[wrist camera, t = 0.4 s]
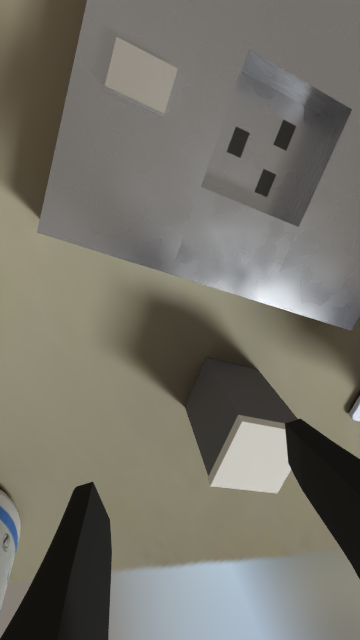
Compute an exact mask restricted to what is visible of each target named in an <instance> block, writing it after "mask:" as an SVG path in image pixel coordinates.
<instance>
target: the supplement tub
mask: <svg viewBox="0 0 360 640" xmlns="http://www.w3.org/2000/svg"><path fill="white" fill-rule="evenodd" d="M19 536H20V518H19V514H18V511H17V509H16V507H15V505H14V503H13V502H12V500H11V499H10V498H9V497H8V496H7V495H6V494H5V493H4V492H3V491H1V490H0V611H1V607H2V603H3V599H4V595H5V591H6V587H7V584H8V580H9V576H10V573H11V569H12V565H13V561H14V557H15V553H16V549H17V544H18V541H19Z"/></svg>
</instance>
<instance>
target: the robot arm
mask: <svg viewBox="0 0 360 640" xmlns="http://www.w3.org/2000/svg"><path fill="white" fill-rule="evenodd" d="M349 416H350V417H351V418H352V419H353V420H355V421H360V396H359V397H358V399H357V401H356V402H355V404H354V406H353V407H352V409H351V411H350V413H349ZM285 432H286V443H287V454H288V464H289V466H290V467H291V469H292V471H293V473H294V475H295V477H296V479H297V481H298V483H299V485H300V487H301V488H302V490H303V492H304V493H305V495H306V496H307V498H308V499H309V501H310V502H311V504H312V505H313V507H314V508H315V510H316V511H317V513H318V514H319V516H320V517H321V519H322V520H323V522H324V523H325V525H326V526H327V528H328V529H329V531H330V532H331V534H332V535H333V537H334V538H335V540H336V541H337V543H338V544H339V546H340V547H341V549H342V550H343V552H344V553H345V555H346V556H347V558H348V560H349V561H350V563H351V564H352V566H353V568H354V570H355V572H356V573H357V575H358V577H359V579H360V459H359V458H357V457H356V456H354V455H353V454H351V453H349V452H348V451H346V450H345V449H343V448H342V447H340V446H339V445H337V444H336V443H334V442H333V441H331V440H330V439H328V438H327V437H326V436H324V435H323V434H321V433H320V432H318V431H317V430H316V429H314V428H313V427H311V426H310V425H309V424H307V423H306V422H304V421H303V420H301V419H298V420H294V421H291V422H288V423H285ZM111 558H112V548H111V531H110V519H109V517H108V515H107V512H106V510H105V508H104V506H103V503H102V501H101V499H100V496H99V494H98V492H97V490H96V487H95V485H94V483H93V482H91V483H87V484H84V485H81V486H77V487H76V488H75V489H74V491H73V493H72V496H71V498H70V501H69V503H68V506H67V508H66V511H65V513H64V515H63V518H62V520H61V522H60V525H59V527H58V529H57V532H56V534H55V536H54V538H53V540H52V542H51V545H50V547H49V549H48V551H47V553H46V556H45V558H44V560H43V562H42V564H41V566H40V568H39V570H38V572H37V574H36V576H35V577H34V579H33V581H32V583H31V585H30V587H29V589H28V591H27V593H26V595H25V597H24V598H23V601H22V602H21V604H20V606H19V608H18V610H17V611H16V613H15V615H14V616H13V618H12V620H11V621H10V623H9V625H8V627H7V628H6V630H5V632H4V633H3V635H2V637H1V638H0V640H108V628H109V627H108V626H109V606H110V584H111Z"/></svg>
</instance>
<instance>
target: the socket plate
mask: <svg viewBox="0 0 360 640" xmlns="http://www.w3.org/2000/svg"><path fill="white" fill-rule="evenodd" d="M37 233H41V234H44V235H47V236H50V237H53V238H57V239H60V240H63V241H66V242H69V243H73V244H76V245H79V246H82V247H85V248H89V249H92V250H95V251H98V252H101V253H105V254H108V255H111V256H114V257H117V258H121V259H124V260H127V261H130V262H133V263H136V264H140V265H143V266H146V267H149V268H152V269H156V270H159V271H162V272H165V273H168V274H172V275H175V276H178V277H181V278H184V279H188V280H191V281H194V282H197V283H200V284H204V285H207V286H210V287H213V288H216V289H220V290H223V291H226V292H229V293H232V294H235V295H239V296H242V297H245V298H248V299H251V300H255V301H258V302H261V303H264V304H267V305H271V306H274V307H277V308H280V309H283V310H287V311H290V312H293V313H296V314H299V315H303V316H306V317H309V318H312V319H315V320H319V321H322V322H325V323H328V324H331V325H335V326H338V327H341V328H344V329H347V330H350V331H352V329H353V328H354V326H355V324H356V322H357V320H358V319H359V317H360V0H87V3H86V7H85V12H84V16H83V21H82V26H81V30H80V35H79V40H78V44H77V49H76V54H75V58H74V63H73V68H72V72H71V77H70V82H69V86H68V91H67V96H66V100H65V105H64V109H63V114H62V119H61V123H60V128H59V133H58V137H57V142H56V147H55V151H54V156H53V161H52V165H51V170H50V175H49V179H48V184H47V188H46V193H45V198H44V202H43V207H42V212H41V216H40V221H39V226H38V230H37Z"/></svg>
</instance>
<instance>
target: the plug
mask: <svg viewBox="0 0 360 640" xmlns="http://www.w3.org/2000/svg"><path fill="white" fill-rule="evenodd" d="M185 409H186V411H187V414H188V417H189V420H190V423H191V426H192V429H193V432H194V435H195V438H196V441H197V444H198V447H199V450H200V453H201V456H202V459H203V462H204V464H205V467H206V470H207V473H208V480H209V483H210V486H214V487H224V488H233V489H242V490H251V491H260V492H270V493H278V491H279V490H280V488H281V486H282V484H283V483H284V481H285V479H286V477H287V476H288V474H289V472H290V470H291V467H290V466H289V464H288V454H287V443H286V432H285V423H288V422H291V421H294V420H298V419H297V418H296V416H295V415H294V414H293V413H292V411H291V410H290V409H289V408H288V406H287V405H286V404H285V403H284V401H283V400H282V399H281V398H280V396H279V395H278V394H277V393H276V391H275V390H274V389H273V388H272V386H271V385H270V384H269V383H268V381H267V380H266V379H265V378H264V377H263V375H262V374H261V373H260V372H259V370H257V369H253V368H249V367H245V366H240V365H236V364H232V363H228V362H224V361H220V360H215V359H211V358H207V357H206V358H205V361H204V363H203V366H202V368H201V370H200V373H199V375H198V378H197V380H196V382H195V385H194V387H193V389H192V392H191V394H190V397H189V399H188V401H187V404H186V406H185Z"/></svg>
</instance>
